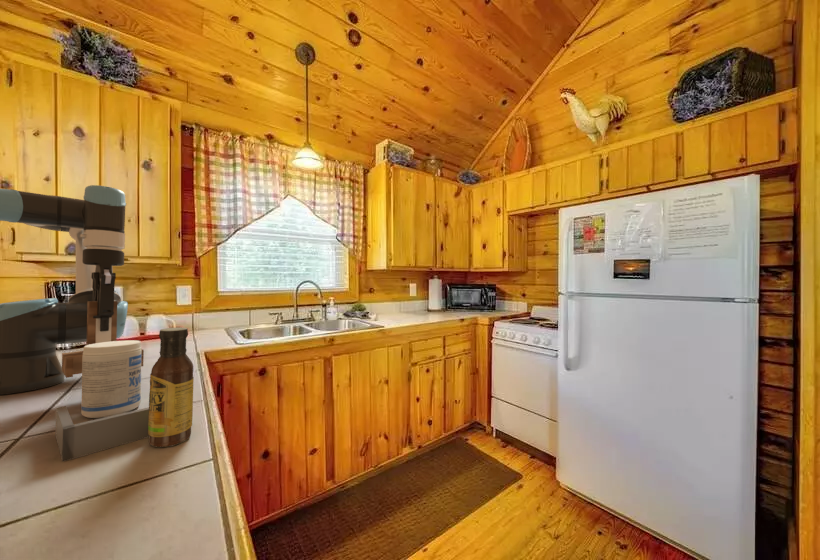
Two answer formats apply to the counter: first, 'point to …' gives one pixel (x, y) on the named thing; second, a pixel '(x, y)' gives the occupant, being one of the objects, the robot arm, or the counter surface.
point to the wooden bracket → (89, 341)
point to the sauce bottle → (171, 391)
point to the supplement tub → (111, 378)
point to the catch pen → (98, 432)
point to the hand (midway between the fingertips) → (101, 343)
